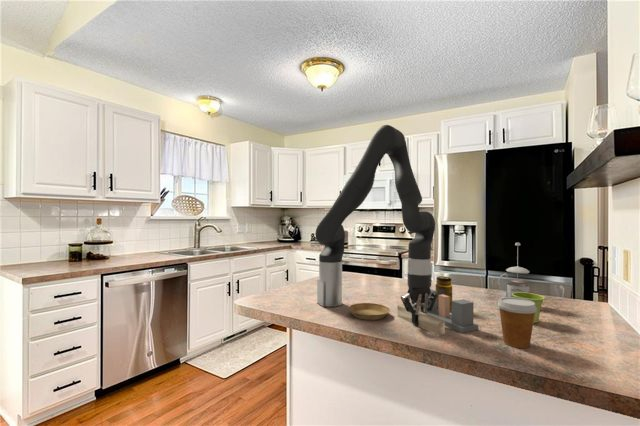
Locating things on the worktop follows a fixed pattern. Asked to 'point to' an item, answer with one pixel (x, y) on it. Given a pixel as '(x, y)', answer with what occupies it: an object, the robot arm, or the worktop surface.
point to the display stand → (454, 313)
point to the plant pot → (534, 298)
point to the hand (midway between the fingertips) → (419, 324)
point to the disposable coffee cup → (517, 321)
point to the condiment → (444, 289)
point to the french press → (517, 282)
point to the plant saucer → (369, 311)
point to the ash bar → (424, 321)
